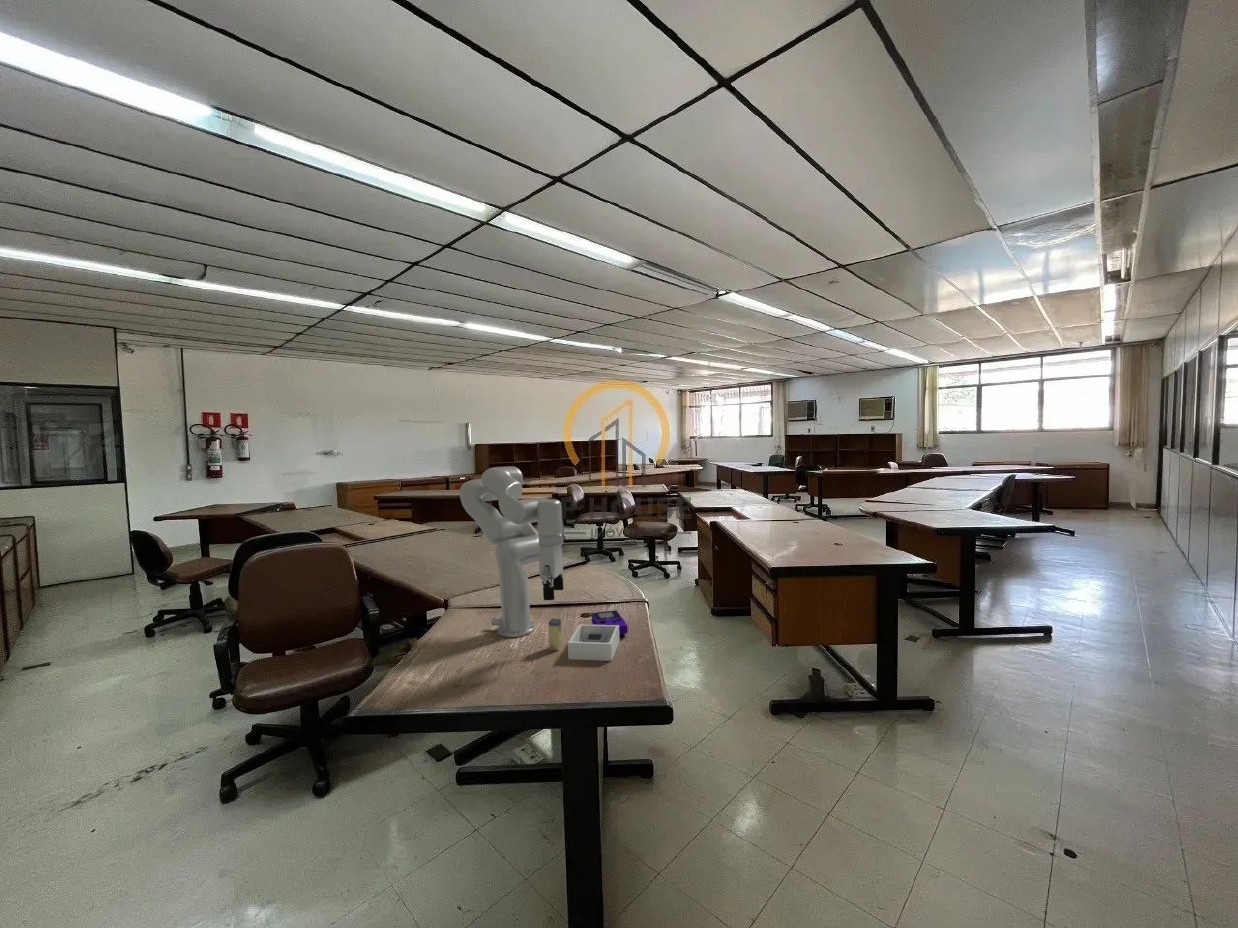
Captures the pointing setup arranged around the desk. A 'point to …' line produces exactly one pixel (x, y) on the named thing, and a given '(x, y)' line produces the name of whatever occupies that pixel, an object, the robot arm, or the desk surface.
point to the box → (594, 642)
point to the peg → (555, 634)
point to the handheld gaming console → (610, 620)
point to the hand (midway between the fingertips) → (553, 594)
